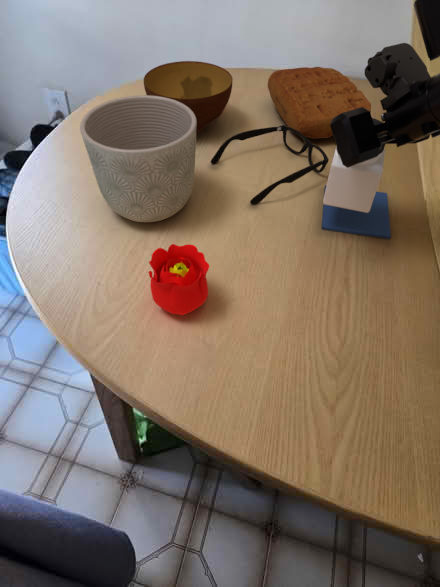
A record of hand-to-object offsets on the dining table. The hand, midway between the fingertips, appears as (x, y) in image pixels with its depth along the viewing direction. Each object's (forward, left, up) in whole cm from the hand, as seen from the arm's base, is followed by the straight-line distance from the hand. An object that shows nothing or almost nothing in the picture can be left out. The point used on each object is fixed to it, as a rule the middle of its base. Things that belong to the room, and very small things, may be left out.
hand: (354, 145), depth 62 cm
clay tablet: (+6, -33, -14) cm, 37 cm away
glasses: (+13, -11, -14) cm, 22 cm away
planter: (+32, +4, -14) cm, 35 cm away
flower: (+21, +24, -14) cm, 34 cm away
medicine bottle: (-1, +1, -8) cm, 8 cm away
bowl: (+32, -24, -14) cm, 42 cm away
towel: (-3, -2, -13) cm, 14 cm away
